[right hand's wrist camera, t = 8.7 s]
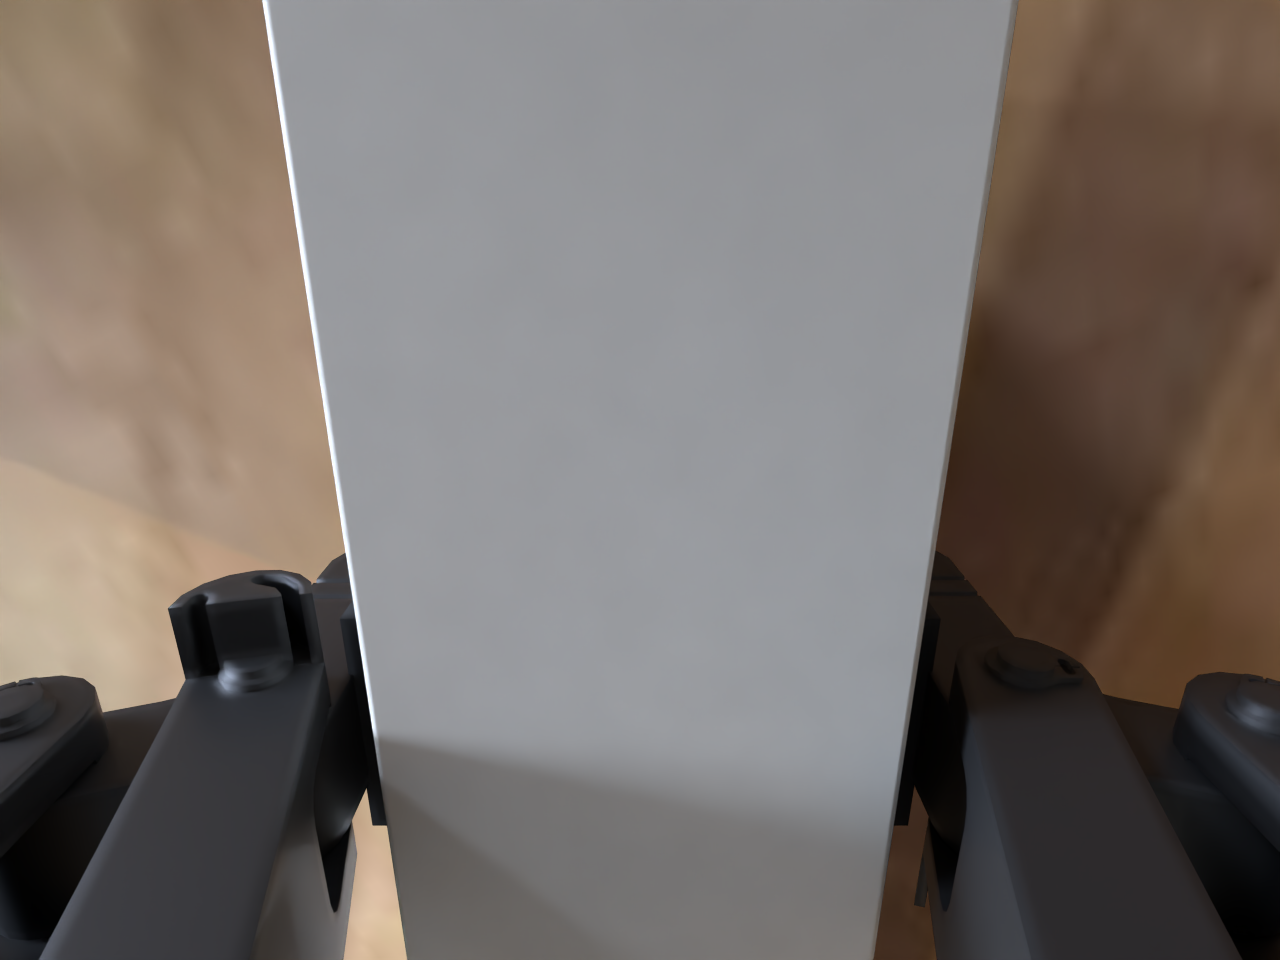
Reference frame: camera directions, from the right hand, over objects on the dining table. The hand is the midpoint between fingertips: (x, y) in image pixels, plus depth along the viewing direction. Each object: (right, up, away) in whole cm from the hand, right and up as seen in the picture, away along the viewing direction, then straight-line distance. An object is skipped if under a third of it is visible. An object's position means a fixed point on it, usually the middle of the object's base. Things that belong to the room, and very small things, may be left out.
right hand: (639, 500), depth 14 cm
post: (0, -20, +8) cm, 22 cm away
